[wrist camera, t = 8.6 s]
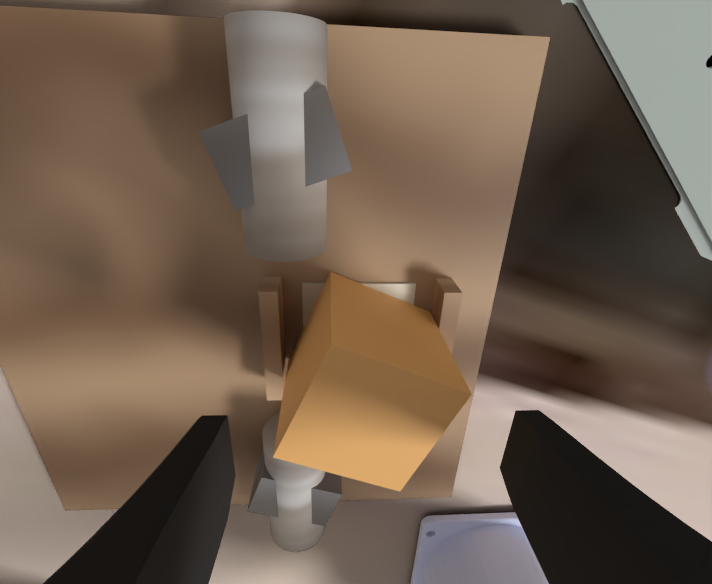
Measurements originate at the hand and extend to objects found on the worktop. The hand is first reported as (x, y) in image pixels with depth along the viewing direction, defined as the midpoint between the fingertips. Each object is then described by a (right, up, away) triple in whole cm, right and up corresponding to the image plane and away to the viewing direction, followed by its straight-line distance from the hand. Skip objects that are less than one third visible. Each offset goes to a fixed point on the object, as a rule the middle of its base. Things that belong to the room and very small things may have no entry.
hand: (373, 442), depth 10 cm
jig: (-4, +3, +5) cm, 7 cm away
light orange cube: (0, +2, +5) cm, 5 cm away
